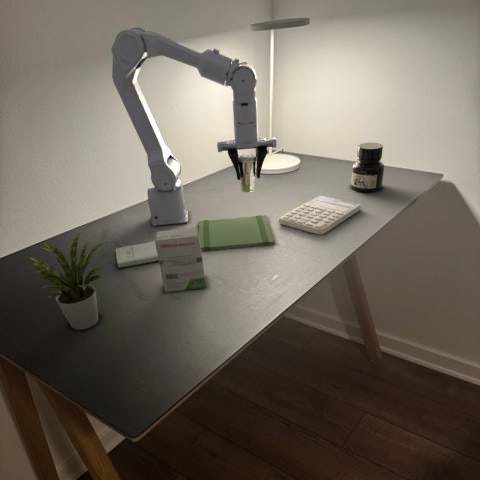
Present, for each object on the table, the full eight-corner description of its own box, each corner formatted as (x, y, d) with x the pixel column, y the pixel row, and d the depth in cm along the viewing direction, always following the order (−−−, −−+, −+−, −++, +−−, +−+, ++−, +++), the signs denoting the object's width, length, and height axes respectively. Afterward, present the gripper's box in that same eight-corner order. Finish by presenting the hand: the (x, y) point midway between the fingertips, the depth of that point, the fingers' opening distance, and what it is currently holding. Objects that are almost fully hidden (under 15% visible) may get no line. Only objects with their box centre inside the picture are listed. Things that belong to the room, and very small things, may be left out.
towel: (199, 251, 106) (198, 247, 105) (199, 223, 119) (198, 220, 118) (274, 244, 106) (274, 241, 106) (266, 218, 119) (266, 214, 119)
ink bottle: (343, 188, 134) (346, 146, 127) (361, 180, 138) (365, 139, 131) (371, 195, 128) (376, 152, 121) (388, 186, 132) (394, 144, 125)
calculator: (277, 223, 116) (277, 217, 114) (319, 199, 127) (320, 193, 126) (321, 236, 108) (321, 229, 107) (362, 209, 120) (362, 202, 119)
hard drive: (173, 259, 103) (118, 269, 101) (167, 244, 110) (116, 253, 107) (171, 252, 102) (117, 262, 100) (166, 238, 109) (115, 247, 106)
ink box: (205, 276, 96) (199, 225, 89) (206, 289, 92) (199, 235, 85) (164, 281, 95) (155, 229, 88) (164, 293, 91) (154, 240, 84)
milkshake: (252, 195, 114) (251, 155, 108) (235, 191, 117) (234, 152, 111) (262, 190, 117) (262, 150, 111) (245, 186, 120) (245, 147, 114)
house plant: (116, 290, 93) (97, 216, 84) (137, 323, 83) (117, 243, 73) (46, 312, 88) (17, 236, 78) (58, 350, 78) (27, 268, 68)
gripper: (216, 127, 104) (220, 185, 111) (278, 122, 104) (278, 180, 112) (215, 121, 109) (219, 176, 117) (273, 116, 110) (274, 171, 118)
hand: (248, 178), depth 115 cm, fingers closed on milkshake, 4 cm apart
